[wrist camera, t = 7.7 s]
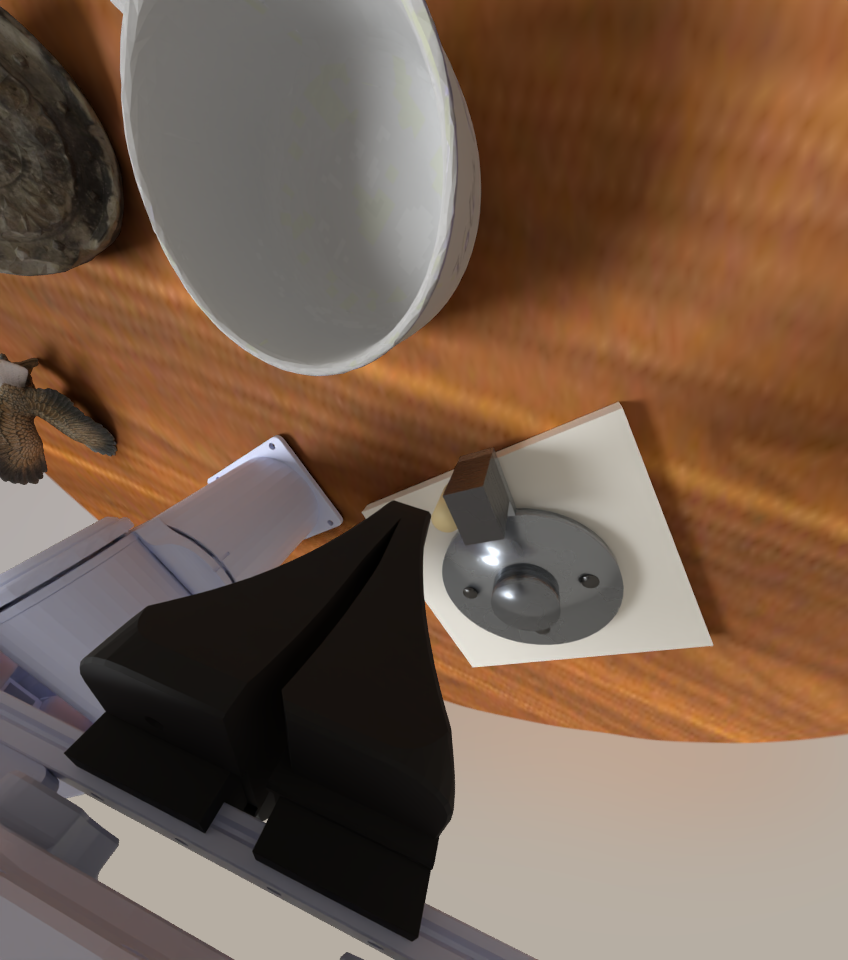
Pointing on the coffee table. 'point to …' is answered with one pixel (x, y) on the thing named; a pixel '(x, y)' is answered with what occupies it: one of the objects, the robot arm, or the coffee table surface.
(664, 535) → the base plate
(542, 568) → the flange plate
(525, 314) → the coffee table surface
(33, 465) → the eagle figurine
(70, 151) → the fossil
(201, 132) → the teacup
